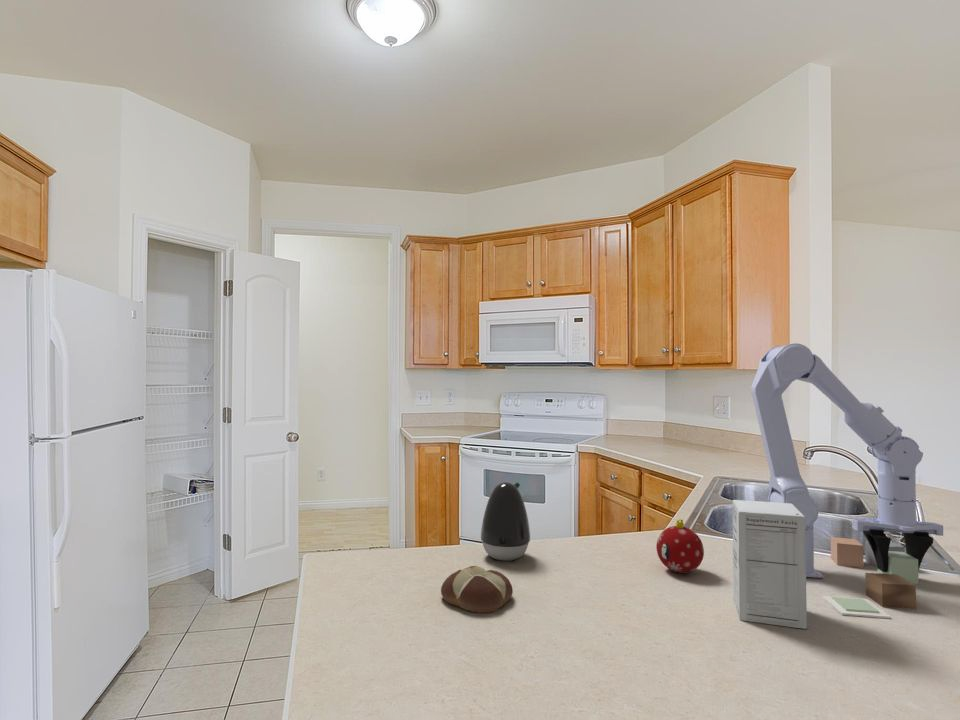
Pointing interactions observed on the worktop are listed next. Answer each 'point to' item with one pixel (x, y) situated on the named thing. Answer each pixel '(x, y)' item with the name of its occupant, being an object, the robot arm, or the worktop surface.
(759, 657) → the worktop surface
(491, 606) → the bread
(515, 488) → the black egg-shaped figure
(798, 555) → the supplement box
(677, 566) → the christmas ornament
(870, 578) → the walnut base block
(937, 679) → the worktop surface
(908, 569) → the sage block
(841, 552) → the terracotta block
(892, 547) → the slate grey block
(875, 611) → the swatch
